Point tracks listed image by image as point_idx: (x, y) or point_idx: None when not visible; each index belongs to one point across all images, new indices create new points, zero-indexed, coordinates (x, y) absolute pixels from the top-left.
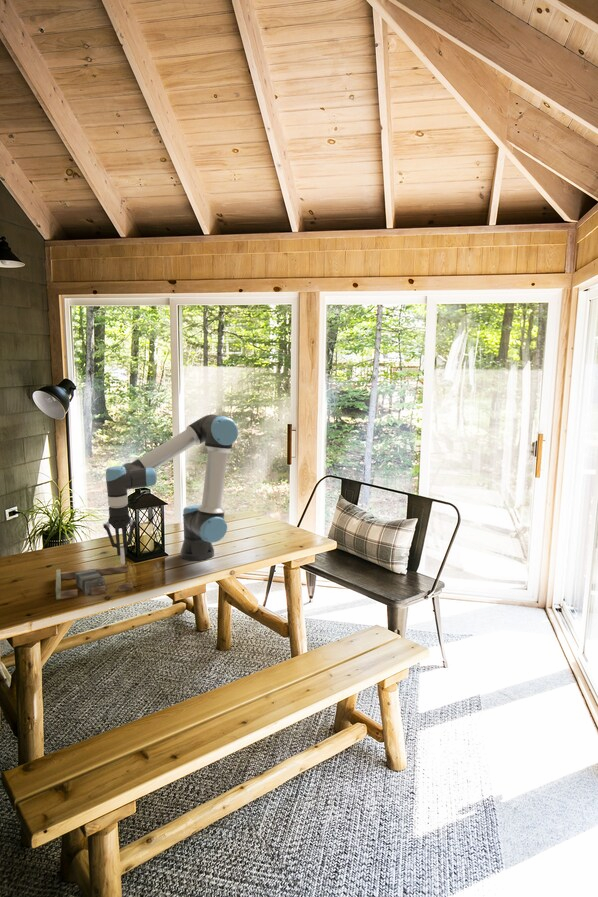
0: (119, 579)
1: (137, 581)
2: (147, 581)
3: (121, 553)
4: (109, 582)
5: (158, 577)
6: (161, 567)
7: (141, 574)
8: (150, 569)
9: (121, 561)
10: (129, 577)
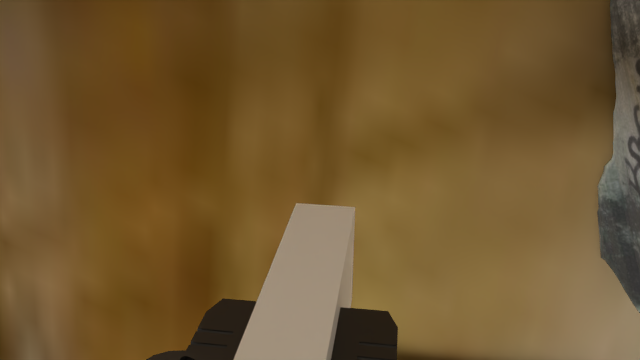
0: (396, 196)
1: (221, 58)
2: (118, 14)
3: (316, 305)
4: (514, 153)
5: (14, 89)
6: (5, 328)
7: (175, 239)
8: (95, 324)
9: (346, 223)
10: (292, 209)
